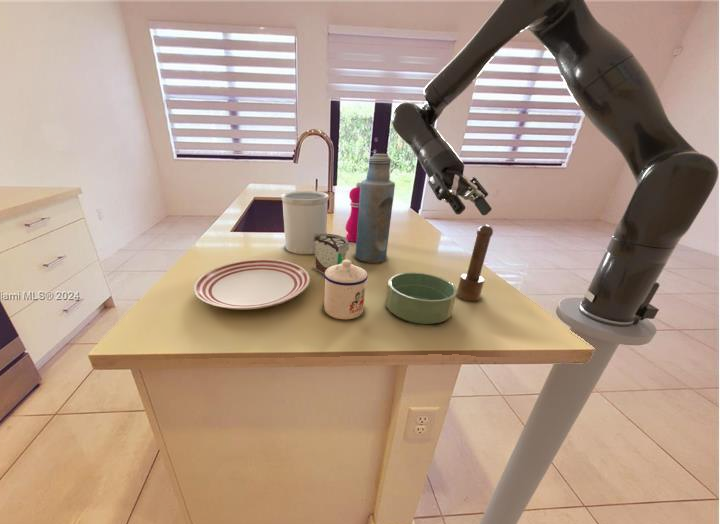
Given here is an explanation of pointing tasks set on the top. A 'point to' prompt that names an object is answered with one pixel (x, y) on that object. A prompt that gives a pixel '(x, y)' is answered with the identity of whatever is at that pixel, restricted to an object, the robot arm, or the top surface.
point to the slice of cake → (329, 250)
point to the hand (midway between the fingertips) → (475, 212)
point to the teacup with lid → (344, 290)
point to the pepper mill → (353, 214)
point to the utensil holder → (304, 219)
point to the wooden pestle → (475, 267)
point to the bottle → (375, 210)
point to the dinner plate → (251, 284)
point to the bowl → (420, 297)
